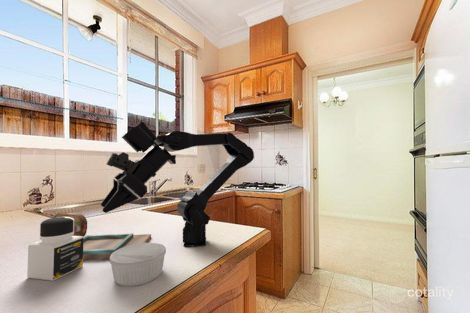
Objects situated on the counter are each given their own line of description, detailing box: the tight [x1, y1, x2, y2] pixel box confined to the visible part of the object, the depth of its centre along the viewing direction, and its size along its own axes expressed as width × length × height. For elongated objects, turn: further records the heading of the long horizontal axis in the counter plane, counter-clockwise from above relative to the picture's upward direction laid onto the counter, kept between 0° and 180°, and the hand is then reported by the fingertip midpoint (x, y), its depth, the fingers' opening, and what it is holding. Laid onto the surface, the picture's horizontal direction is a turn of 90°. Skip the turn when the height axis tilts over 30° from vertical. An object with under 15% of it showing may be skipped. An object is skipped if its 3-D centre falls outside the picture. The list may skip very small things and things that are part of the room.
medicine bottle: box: [26, 217, 85, 282], centre depth 50 cm, size 7×7×12 cm
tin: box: [53, 212, 88, 237], centre depth 73 cm, size 15×3×8 cm, turn 68°
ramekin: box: [109, 242, 167, 287], centre depth 48 cm, size 11×11×5 cm
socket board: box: [83, 233, 152, 261], centre depth 64 cm, size 20×16×2 cm
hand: (102, 208), depth 55 cm, fingers open, 9 cm apart
